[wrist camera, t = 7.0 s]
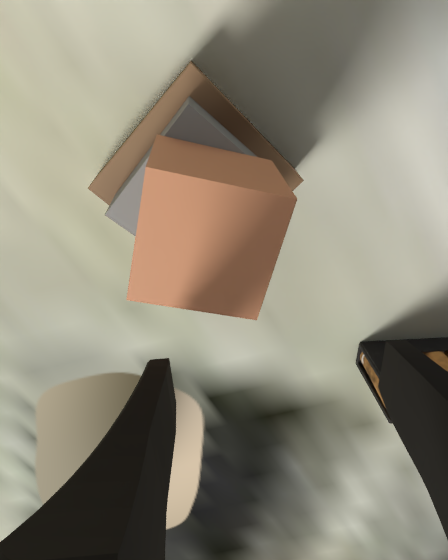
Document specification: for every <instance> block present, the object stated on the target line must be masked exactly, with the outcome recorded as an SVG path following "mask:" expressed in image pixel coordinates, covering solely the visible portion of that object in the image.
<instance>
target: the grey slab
mask: <svg viewBox="0 0 448 560" xmlns="http://www.w3.org/2000/svg"><path fill="white" fill-rule="evenodd" d="M160 135H162V136H166V137H171V138H175V139H180V140H184V141H188V142H193V143H197V144H202V145H206V146H211V147H215V148H219V149H224V150H228V151H233V152H237V153H241V154H246V155H250V156H255V157H257V156H256V155H255V154H254V153H253V152H252V151H250V150H249V149H248V148H247V147H246V146H245V145H244V144H243V143H241V142H240V141H239V140H238V139H237V138H236V137H235V136H234V135H232V134H231V133H230V132H229V131H228V130H227V129H226V128H225V127H223V126H222V125H221V124H220V123H219V122H218V121H217V120H216V119H215V118H213V117H212V116H211V115H210V114H209V113H208V112H207V111H206V110H204V109H203V108H202V107H201V106H200V105H199V104H198V103H197V102H195V101H194V100H193V99H192V98H191V97H190V96H189V97H188V98H187V99H186V101H185V102H184V103H183V105H182V106H181V107H180V109H179V110H178V111H177V113H176V114H175V115H174V117H173V118H172V119H171V121H170V122H169V123H168V125H167V126H166V127H165V129H164V130H163V131H162V133H161V134H160ZM153 144H154V143H153ZM152 147H153V145H152V146H151V147H150V149H149V150H148V151H147V153H146V154H145V155H144V157H143V158H142V159H141V161H140V162H139V163H138V165H137V166H136V167H135V169H134V170H133V171H132V173H131V174H130V175H129V177H128V178H127V179H126V181H125V182H124V183H123V185H122V186H121V187H120V189H119V190H118V191H117V193H116V194H115V196H114V198H113V200H112V202H111V203H110V205H109V207H108V209H107V211H106V213H105V216H107V217H108V218H110V219H111V220H113V221H114V222H116V223H117V224H118V225H120V226H121V227H123V228H124V229H126V230H127V231H129V232H130V233H131V234H133V235H134V236H136V230H137V223H138V216H139V209H140V203H141V196H142V189H143V182H144V175H145V168H146V164H147V161H148V158H149V156H150V153H151V150H152Z"/></svg>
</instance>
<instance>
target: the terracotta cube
mask: <svg viewBox="0 0 448 560" xmlns="http://www.w3.org/2000/svg"><path fill="white" fill-rule="evenodd" d="M296 201H297V198H296V196H295V195H294V193H293V192H292V190H291V189H290V187H289V186H288V184H287V183H286V181H285V180H284V178H283V177H282V175H281V174H280V172H279V171H278V169H277V168H276V166H275V165H274V163H273V161H272V160H268V159H264V158H259V157H255V156H250V155H246V154H241V153H237V152H233V151H228V150H224V149H219V148H215V147H211V146H206V145H202V144H197V143H193V142H188V141H184V140H180V139H175V138H171V137H166V136H162V135H158V134H157V135H156V138H155V141H154V144H153V147H152V150H151V153H150V156H149V158H148V161H147V164H146V168H145V175H144V182H143V189H142V196H141V203H140V209H139V216H138V223H137V230H136V237H135V244H134V251H133V258H132V265H131V272H130V279H129V286H128V293H127V300H130V301H136V302H143V303H149V304H156V305H162V306H169V307H175V308H181V309H188V310H194V311H201V312H207V313H214V314H220V315H227V316H233V317H240V318H246V319H253V320H257V318H258V315H259V312H260V309H261V306H262V303H263V300H264V297H265V294H266V291H267V288H268V285H269V282H270V279H271V276H272V273H273V270H274V267H275V264H276V261H277V258H278V255H279V252H280V249H281V246H282V243H283V240H284V237H285V234H286V231H287V228H288V225H289V222H290V219H291V216H292V213H293V210H294V207H295V204H296Z"/></svg>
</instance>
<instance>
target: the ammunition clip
mask: <svg viewBox="0 0 448 560" xmlns="http://www.w3.org/2000/svg"><path fill="white" fill-rule="evenodd" d="M386 341H391V340H386ZM386 341H366V342H360V344H359V348H358V353H357V359H356V365H357V367H358V369H359V370H360V372H361V374H362V376H363V377H364V379H365V381H366V383H367V384H368V386H369V388H370V390H371V391H372V393H373V395H374V397H375V398H376V400H377V402H378V404H379V406H380V407H381V409H382V411H383V413H384V415H385V416H386V418H387V420H388V422H389V423H392V421H391V419H390V417H389V415H388V412H387V410H386V407H385V405H384V402H383V399H382V396H381V394H380V391H379V388H378V383H379V378H380V372H381V367H382V361H383V355H384V350H385V344H386ZM406 341H407V342H409V343H410V344H411V345H413V346H414V347H415V348H417V349H418V350H419V351H421V352H422V353H423V354H425V355H426V356H427V357H429V358H430V359H431V360H433V361H434V362H435V363H437V364H438V365H439V366H441V367H442V368H443V369H445V370H446V371H448V337H446V338H426V339H406Z"/></svg>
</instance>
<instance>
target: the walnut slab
mask: <svg viewBox="0 0 448 560" xmlns="http://www.w3.org/2000/svg"><path fill="white" fill-rule="evenodd" d="M189 96H190V97H191V98H192V99H193V100H194V101H195V102H197V103H198V104H199V105H200V106H201V107H202V108H203V109H204V110H206V111H207V112H208V113H209V114H210V115H211V116H212V117H213V118H215V119H216V120H217V121H218V122H219V123H220V124H221V125H222V126H223V127H225V128H226V129H227V130H228V131H229V132H230V133H231V134H232V135H234V136H235V137H236V138H237V139H238V140H239V141H240V142H241V143H243V144H244V145H245V146H246V147H247V148H248V149H249V150H250V151H252V152H253V153H254V154H255V155H256V156H257V157H259V158H264V159H268V160H272V161H273V163H274V165H275V166H276V168H277V169H278V171H279V172H280V174H281V175H282V177H283V178H284V180H285V181H286V183H287V184H288V186H289V187H290V189H291V190H292V191H293V190H294V189H295V188H296V187H297V186H298V185H299V184H300V183H302V182H303V181H304V180H303V179H302V178H301V177H300V175H299V174H298V173H297V171H296V170H295V169H294V168H293V167H292V166H291V165H290V164H289V163H288V161H287V160H286V159H285V158H284V157H283V156H282V155H281V154H280V153H279V152H278V151H277V150H276V149H275V148H274V147H273V146H272V145H271V144H270V143H269V142H268V141H267V140H266V139H265V137H264V136H263V135H262V134H261V133H260V132H259V131H258V130H257V129H256V128H255V127H254V126H253V125H252V124H251V123H250V122H249V121H248V120H247V119H246V118H245V117H244V116H243V114H242V113H241V112H240V111H239V110H238V109H237V108H236V107H235V106H234V105H233V104H232V103H231V102H230V101H229V100H228V99H227V98H226V97H225V96H224V95H223V94H222V93H221V91H220V90H219V89H218V88H217V87H216V86H215V85H214V84H213V83H212V82H211V81H210V80H209V79H208V78H207V77H206V76H205V75H204V74H203V73H202V72H201V71H200V70H199V69H198V67H197V66H196V65H195V64H194V63H193V62H192V61H190V62H189V64H188V65H187V66H186V67H185V69H184V70H183V71H182V72H181V73H180V75H179V76H178V77H177V78H176V80H175V81H174V82H173V83H172V84H171V86H170V87H169V88H168V89H167V91H166V92H165V93H164V94H163V95H162V97H161V98H160V99H159V100H158V102H157V103H156V104H155V105H154V106H153V108H152V109H151V110H150V111H149V113H148V114H147V115H146V116H145V117H144V119H143V120H142V121H141V122H140V124H139V125H138V126H137V127H136V128H135V130H134V131H133V132H132V133H131V135H130V136H129V137H128V138H127V139H126V141H125V142H124V143H123V144H122V146H121V147H120V148H119V149H118V150H117V152H116V153H115V154H114V155H113V157H112V158H111V159H110V160H109V161H108V163H107V164H106V165H105V166H104V168H103V169H102V170H101V171H100V172H99V174H98V175H97V176H96V178H95V179H94V180H93V182H92V183H91V185H90V186H89V187H88V189H89V190H91V191H92V192H93V193H94V194H96V195H97V196H98V197H99V198H101V199H102V200H103V201H105V202H106V203H107V204H108V205H110V203H111V202H112V200H113V198H114V196H115V194H116V193H117V191H118V190H119V189H120V187H121V186H122V185H123V183H124V182H125V181H126V179H127V178H128V177H129V175H130V174H131V173H132V171H133V170H134V169H135V167H136V166H137V165H138V163H139V162H140V161H141V159H142V158H143V157H144V155H145V154H146V153H147V151H148V150H149V149H150V147H151V146H152V145H153V143H154V141H155V138H156V135H157V134H158V135H160V134H161V133H162V131H163V130H164V129H165V127H166V126H167V125H168V123H169V122H170V121H171V119H172V118H173V117H174V115H175V114H176V113H177V111H178V110H179V109H180V107H181V106H182V105H183V103H184V102H185V101H186V99H187V98H188V97H189Z"/></svg>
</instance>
